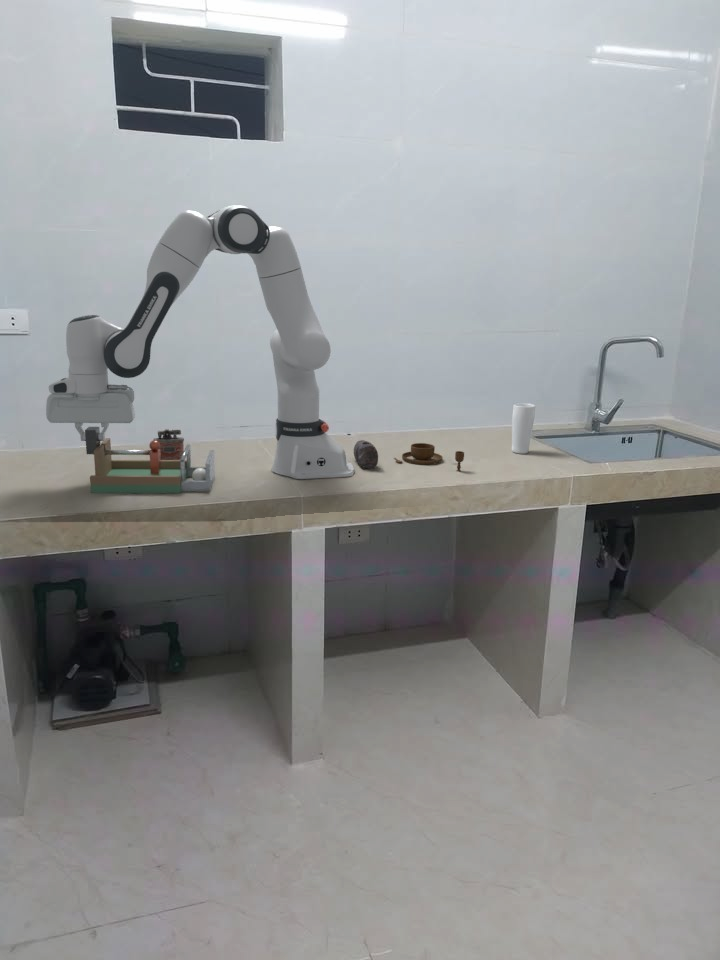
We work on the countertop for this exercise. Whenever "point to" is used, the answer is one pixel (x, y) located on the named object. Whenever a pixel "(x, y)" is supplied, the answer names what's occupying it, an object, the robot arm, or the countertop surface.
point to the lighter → (170, 444)
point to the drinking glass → (522, 427)
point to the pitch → (133, 474)
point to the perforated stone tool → (365, 454)
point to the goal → (193, 485)
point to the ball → (199, 474)
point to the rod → (154, 452)
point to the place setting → (427, 455)
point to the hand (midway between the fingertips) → (93, 440)
